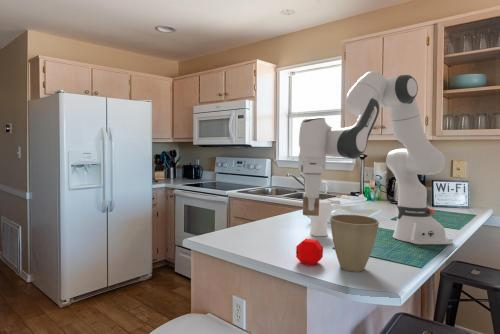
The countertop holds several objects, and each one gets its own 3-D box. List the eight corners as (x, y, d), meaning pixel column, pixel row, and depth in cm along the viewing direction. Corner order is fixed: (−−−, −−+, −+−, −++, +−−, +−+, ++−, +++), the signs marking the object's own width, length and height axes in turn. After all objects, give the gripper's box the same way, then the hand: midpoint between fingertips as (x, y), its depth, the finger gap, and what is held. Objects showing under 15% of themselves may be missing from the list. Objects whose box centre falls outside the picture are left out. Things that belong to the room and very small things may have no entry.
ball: (301, 257, 121) (301, 236, 121) (324, 261, 118) (324, 239, 117) (293, 264, 114) (294, 241, 114) (317, 268, 110) (318, 245, 110)
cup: (331, 238, 148) (332, 203, 148) (306, 236, 151) (307, 202, 150) (330, 232, 159) (331, 199, 158) (307, 230, 161) (308, 198, 160)
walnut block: (302, 212, 118) (303, 194, 117) (317, 213, 117) (318, 195, 117) (303, 215, 113) (303, 196, 112) (318, 215, 112) (319, 197, 112)
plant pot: (325, 272, 107) (326, 221, 107) (332, 258, 121) (333, 213, 120) (376, 279, 102) (378, 225, 101) (377, 264, 116) (379, 216, 115)
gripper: (301, 164, 125) (300, 203, 126) (303, 167, 104) (301, 213, 105) (319, 165, 124) (318, 203, 125) (324, 168, 104) (322, 214, 104)
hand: (310, 208), depth 115 cm, fingers closed on walnut block, 5 cm apart
